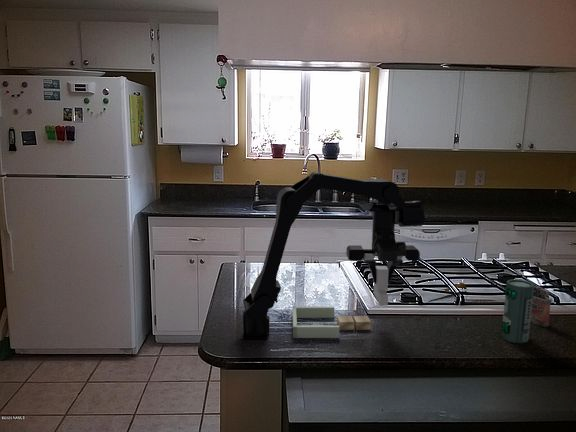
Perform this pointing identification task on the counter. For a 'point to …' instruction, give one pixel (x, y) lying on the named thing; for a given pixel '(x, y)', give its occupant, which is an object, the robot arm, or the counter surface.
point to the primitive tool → (460, 285)
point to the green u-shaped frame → (314, 330)
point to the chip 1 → (345, 322)
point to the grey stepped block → (381, 285)
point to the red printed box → (540, 307)
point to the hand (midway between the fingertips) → (381, 283)
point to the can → (517, 311)
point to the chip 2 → (362, 323)
